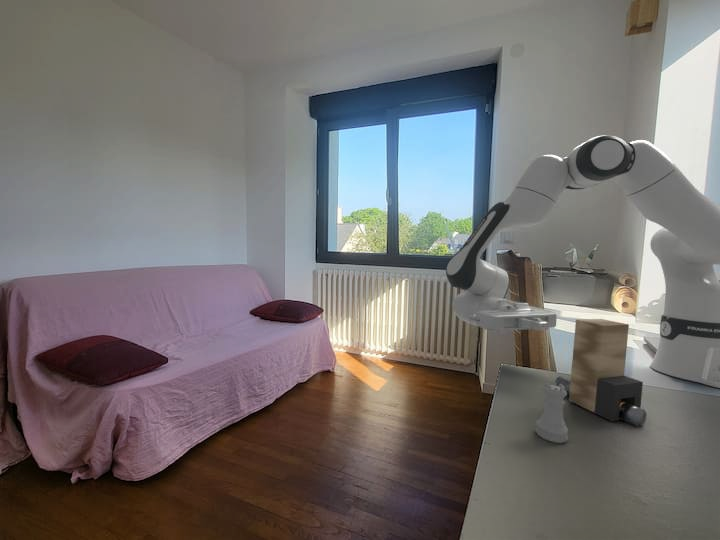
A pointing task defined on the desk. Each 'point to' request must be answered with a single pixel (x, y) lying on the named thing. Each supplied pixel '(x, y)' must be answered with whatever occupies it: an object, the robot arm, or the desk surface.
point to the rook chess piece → (553, 415)
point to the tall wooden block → (596, 357)
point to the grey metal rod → (626, 409)
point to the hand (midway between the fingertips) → (543, 326)
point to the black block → (616, 395)
